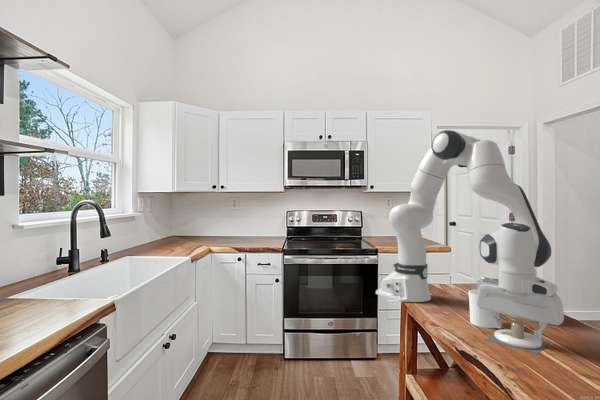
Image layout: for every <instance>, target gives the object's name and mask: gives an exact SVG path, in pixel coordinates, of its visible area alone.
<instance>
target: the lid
mask: <svg viewBox="0 0 600 400" xmlns="http://www.w3.org/2000/svg"><path fill="white" fill-rule="evenodd" d="M501 329H502V330H500V329H498V330H497V329H496V330H495V331H494V334H495V339H496V340H498V341H499V342H501V343H504V344H506V345H509V346H513V347H517V348H523V349H538V348H541V347H542V340H541V339H542V338H537V337H534V334H532V333H529V332H525V322H523V321H520V320H514V319H513V320H510V329H509V328H508V329H507V328H505V329H503V328H501ZM509 346H508V347H509ZM513 347H512V348H513Z"/></svg>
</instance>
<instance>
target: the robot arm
mask: <svg viewBox="0 0 600 400" xmlns="http://www.w3.org/2000/svg"><path fill="white" fill-rule="evenodd" d="M455 166H458V167H459V168H466V169H467V177H468V181H469V185H470V186H469V187H470V188H471V190H472V192H474V193H475V194H476V195H477V196H479V197H482V198H484V199H486V200H490V201H493V202H496V203H499V204H501V205H503V206H505V207H506V208H508V209H509V210H510V211H511V213H512V215H513V217H514V220H515V221H516V222H506V223H503V224H500V225H499V227H498V230H495V231H492V232H491V233H487V234H485V235H484V236H482V238H481V239H480V240H479V254H480V257H481V258H482V260H484V261H485V262H486V263H488V264H491V265H495V266H498V270H497V274H498V275H497V276H498V277H497V278H489V277H483V276H482V277H481V278H479V279H478V280H477V281H476V290H478V295H477V306H478V307H479V308H480V309H483V310H488V311H490V315H491V317H492V318H493V320H494V321H495V327H496V328H495V329H499V330H500V329H503V320H500V318H499V319H498V317H497V314H498V313H499V314H503V315H507V316H509V315H511V316H516V317H520V318H525V319H530V320H534V321H539V322H538V326H540V327H539V329H536V328H535V329H534V330H533V335H534V337H537V338H540V339H543V338H542V337H543V331H544V330H545V329H546V327H547V326H548V324H549V325H554V326H559V325H561V324H562V323H564V321H565V313H564V306H563V305H564V304H563V301H562V299H561V297H560V296H559V295H558V294H557V293H558V287H559V286H558V285H557V284H555V283H553V282H552V281H551V282H550V281H548V280H545V279H543V278H540V277H538V276H537V270H536V268H540V267H542V266H544V264H546V263H547V262H548V260H550V258H551V256H552V247H551V244H550V242H549V240H548V239H547V237H546V235H545V234H544V232H543V231H542V228H541V227H540V226H541V225H540V223H539V222H538V220H537V217H536V216H535V213H534V211H533V209H532V206H531V204H530V201H529V199H528V197H527V195H526V193H525V190H523V188H522V186H520V185H518V184H517V183H515V182H514V181H513V180H512V178H511V177H510V175H509V174H508V172H507V168H506V164H505V161H504V158H503V154H502V152H501V150H500V148H499V146H498V144H497V143H496V142H495V141H493V140H489V139H482V140H481V139H477V138H476V137H473V136H472V135H469V134H465V133H461V132H458V131H455V130H450V129H448V130H442V131H439V132H438V133H437V134H436V135H435V136H434V138H433V139H432V142H431V147H430V148H429V149H428V150H427V152H426V153H425V155H424V157H423V158H422V160H421V161H420V163H419V166H418V168H417V170H416V172H415V174H414V176H413V179H412V181H411V184H410V187H409V188H410V197H409V201H408V203H401V204H399V205H395V206H394V207H392V209H391V210H390V211H389V213H388V221H389V224H390V225H391V226H392V229H393V230H394V234H395V237H396V241H397V260H398V261H397V262H395V263H393V264H392V267H393V268H394V270H393V271H392V272H391V273H389V274H388V275H387V276H386V277H383V279H382V281H381V285H380V288H378V289H376V290H375V295H379V296H381V297H384V298H386V299H391V300H394V301H397V302H400V303H407V302H408V303H410V302H411V303H424V302H429V301H430V300H432V297H431V294H430V290H429V284H428V273H429V272H428V270H429V269H428V263H427V245H426V242H425V241H424V239H423V236H422V235H423V234H422V229H424V228H425V229H426V228H427V227H428V226H429V225H430V224H431V223H432V222H433V220H434V214H433V213H434V209H435V205H436V200H437V198H438V195H439V193H440V191H441V188H442V186H443V184H444V182H445V180H446V179H447V176H448V172H449V171H450V169H451V168H452V167H455Z"/></svg>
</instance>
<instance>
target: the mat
mask: <svg viewBox="0 0 600 400" xmlns="http://www.w3.org/2000/svg"><path fill="white" fill-rule="evenodd" d="M502 329H503V328H501V329H500V328H499V330H502ZM540 339H541V340H542V347H541V348H538V349H523V348H517V347H513V346H509V345H506V344H504V343H501V342H499V341H498V340H496V339H495V333H493V334H492V335H490V336H489V337H488V338H486V339H485V340H486V341H489V342H491V343H495V344H498V345H503V346H506V347H509V348H513V349H515V350H516V349H518V350H520V351H524V352H528V353H531V354H535V355H539V354H540V353H541V352H542V350H543V349H544V348H545V347H547V345H548V344H549V343H550V340H546V339H543V338H540Z"/></svg>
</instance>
